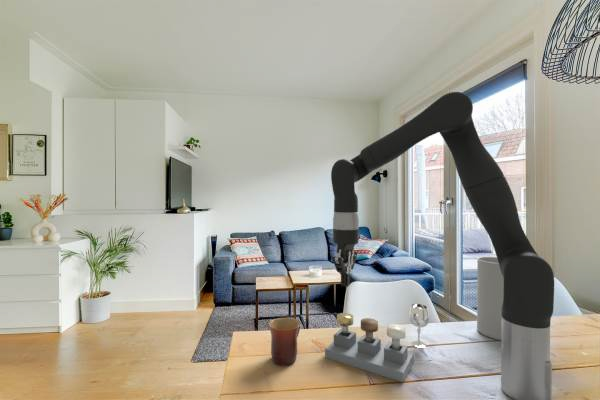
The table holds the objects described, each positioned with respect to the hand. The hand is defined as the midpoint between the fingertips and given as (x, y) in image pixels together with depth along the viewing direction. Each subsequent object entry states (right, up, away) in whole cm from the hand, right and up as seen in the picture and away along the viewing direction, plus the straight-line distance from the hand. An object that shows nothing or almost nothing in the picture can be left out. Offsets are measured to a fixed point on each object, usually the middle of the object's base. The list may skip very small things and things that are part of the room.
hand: (345, 285), depth 91 cm
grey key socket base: (+6, -20, -4) cm, 21 cm away
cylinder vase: (+54, -20, +13) cm, 59 cm away
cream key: (+13, -15, -8) cm, 21 cm away
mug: (-17, -20, -3) cm, 26 cm away
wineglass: (+24, -20, +5) cm, 31 cm away
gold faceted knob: (0, -15, 0) cm, 15 cm away
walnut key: (+6, -15, -4) cm, 17 cm away
